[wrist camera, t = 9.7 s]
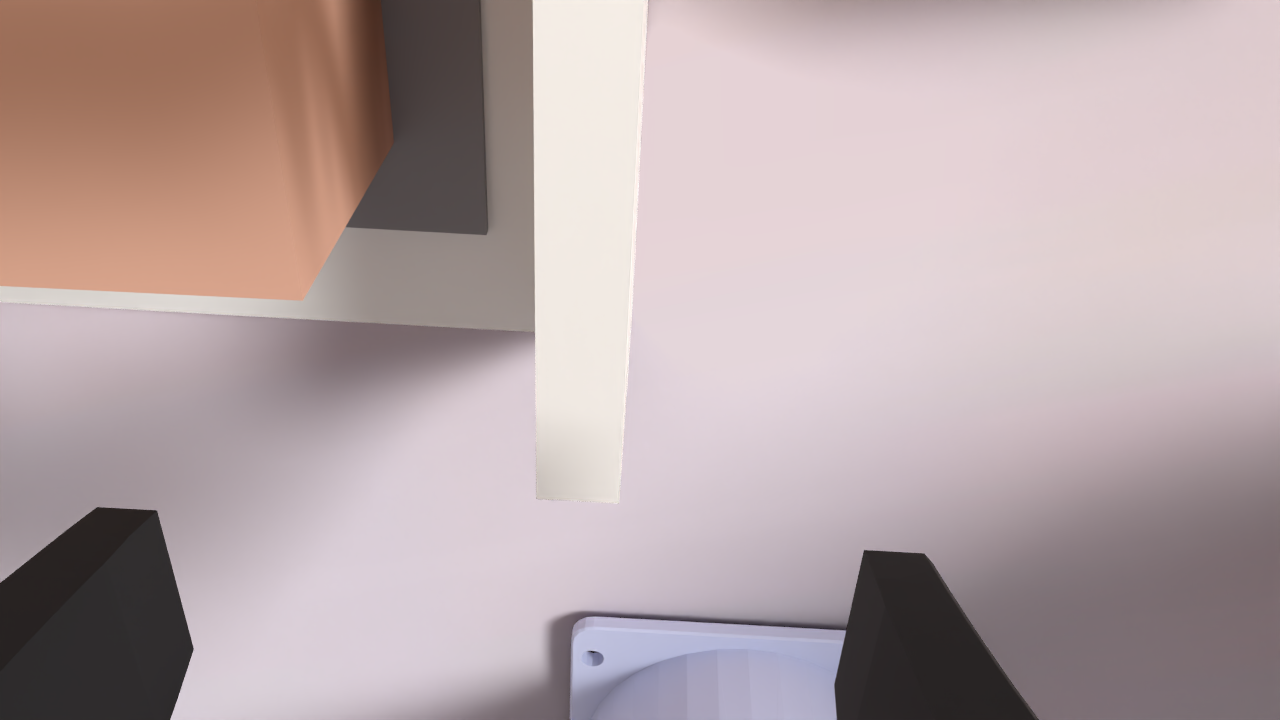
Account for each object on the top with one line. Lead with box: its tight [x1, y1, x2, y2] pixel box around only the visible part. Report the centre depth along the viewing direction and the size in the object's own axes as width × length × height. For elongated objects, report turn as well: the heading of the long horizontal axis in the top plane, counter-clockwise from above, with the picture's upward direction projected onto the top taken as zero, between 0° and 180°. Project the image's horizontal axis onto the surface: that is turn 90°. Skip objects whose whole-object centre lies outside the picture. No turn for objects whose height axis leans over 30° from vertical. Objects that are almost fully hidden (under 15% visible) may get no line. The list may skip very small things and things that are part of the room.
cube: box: [0, 0, 394, 301], centre depth 14 cm, size 5×5×5 cm
